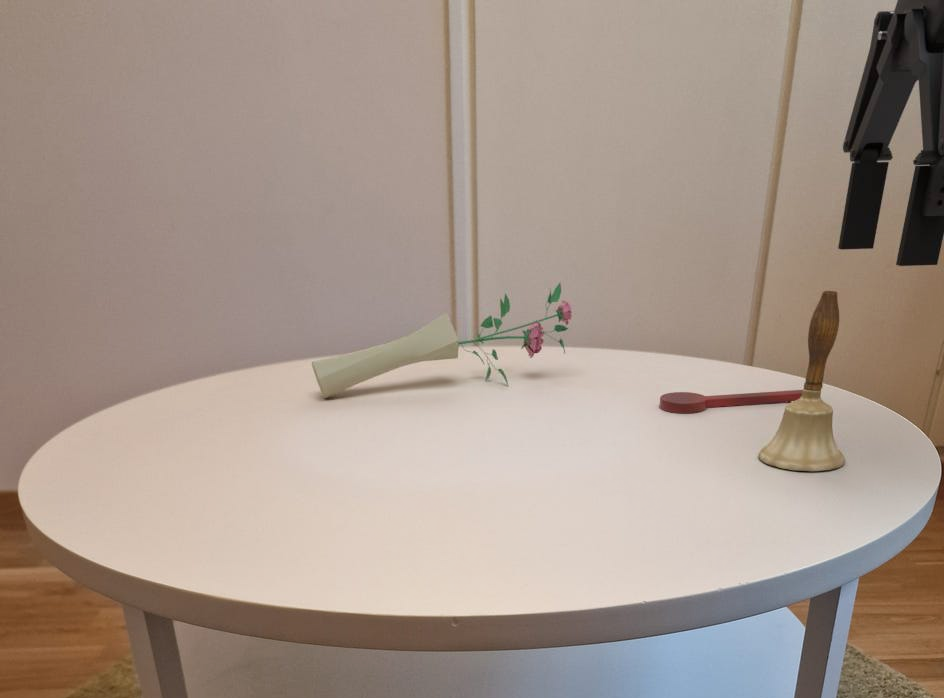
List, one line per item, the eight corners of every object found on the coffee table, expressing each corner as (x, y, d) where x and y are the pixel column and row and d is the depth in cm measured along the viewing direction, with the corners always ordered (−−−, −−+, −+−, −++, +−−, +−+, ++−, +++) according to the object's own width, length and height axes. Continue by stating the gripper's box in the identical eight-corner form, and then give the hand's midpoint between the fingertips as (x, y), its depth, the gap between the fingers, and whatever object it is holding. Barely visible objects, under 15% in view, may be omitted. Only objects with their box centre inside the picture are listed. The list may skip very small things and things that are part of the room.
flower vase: (338, 444, 124) (566, 366, 128) (343, 442, 112) (594, 356, 116) (308, 361, 121) (542, 283, 125) (310, 350, 109) (568, 265, 113)
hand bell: (771, 442, 94) (794, 283, 86) (852, 454, 90) (885, 288, 82) (747, 464, 88) (770, 295, 80) (833, 477, 84) (866, 301, 76)
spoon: (799, 393, 112) (801, 384, 111) (821, 404, 107) (823, 394, 107) (653, 403, 110) (654, 393, 109) (668, 414, 105) (669, 404, 105)
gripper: (831, -58, 70) (789, 243, 81) (982, -142, 49) (899, 276, 60) (927, -62, 70) (872, 240, 81) (1117, -147, 49) (1009, 273, 60)
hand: (883, 256), depth 70 cm, fingers open, 11 cm apart
